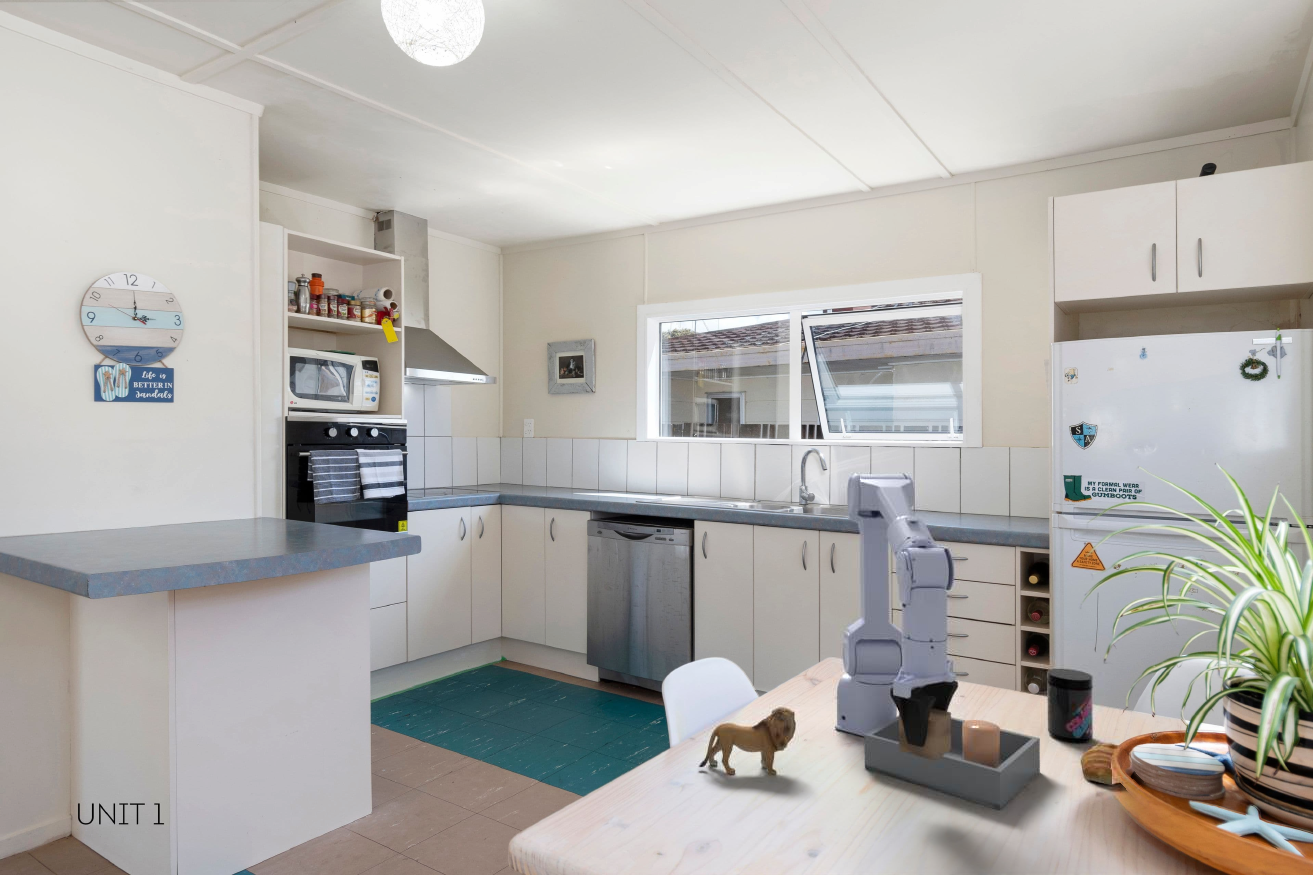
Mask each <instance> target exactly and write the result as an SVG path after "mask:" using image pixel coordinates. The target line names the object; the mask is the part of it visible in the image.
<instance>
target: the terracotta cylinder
mask: <svg viewBox="0 0 1313 875" xmlns="http://www.w3.org/2000/svg"><path fill="white" fill-rule="evenodd" d="M1000 729H1001V728H1000V726H999V725H997V724H995V723H994V722H990V721H987V720H980V719H979V720H978V719H970V720H965V721H964V722H963V723H962V740H963V760H966V761H970V762H974V763H977V764H981V765H985V766H988V767H992V768H997V767H999V766H1000Z"/></svg>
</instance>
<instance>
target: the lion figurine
mask: <svg viewBox="0 0 1313 875" xmlns="http://www.w3.org/2000/svg"><path fill="white" fill-rule="evenodd" d="M795 719H796V718H795V711H793V710H792V709H790V708H787V707H785V706H779V707H777V708H776V707H775V709H772V711H771V713H770V715H767V717H765V718H763V719H762V720H760V721H759V722H758V723H757V724H755V725H753V726H744V725H743V726H742V725H738V724H735V723H732V722H725V723H721V724H719V725H718V726H716V728H714V729H713V732H712V733H711V736H710V737H709V738H710V739H709V742H708V745H707V746H708V747H707V752H706V755H705V758H704V759H703V761H702V762H700V764H699V765H698V767H699V768H704V767H705V766H706V765H707V763H709V765H711V766H717V765H718V764H719V763H718V760H717V759H715V755H717V754H718V753H719V752H721V754H722V756H721V757H722V758H721V764H722V765H723V767H724V769H725V771H726V773H727V774H729V775H735V774H736V769H735V768H734V767H731V766H730V764H729V760H730V757H731V754H732V752H733V747H734V746H735V747H737V748H738V749H739V750H741V751H743V752H747V753H758V752H759V753H760V755H761V756H760V757H761V758H760V764H761V766H762V767H763V768H765V769H766V771H767V773H768V774H769V775H771V776H776V775H777V770H776V769H774V767H773V766H774V761H775V753H777V752H780V751H781V752H783V751H784V750H785V749H786V748H787V747H788V744H789V742H791V740H792V739H793V738H794V735H795V732H796V729H797V728H796V727H797V726H796V725H797V724H796V720H795ZM716 737H717V739H716ZM715 740H716V742H715ZM714 742H715V744H714Z"/></svg>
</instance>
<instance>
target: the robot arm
mask: <svg viewBox="0 0 1313 875" xmlns="http://www.w3.org/2000/svg"><path fill="white" fill-rule="evenodd" d="M846 491H847V492H846V493H847V494H846V495H847V498H846V499H847V503H846V505H847V508H846V510H847V515H848V520H850V521H852V522H854V523H856V524H857V526H858V531H859V551H860V552H859V561H860V562H859V564H860V566H859V567H860V569H859V572H860V573H859V574H860V575H859V576H860V577H859V579H860V618H859V619H857V620H856V621H855V622H853V623H852V624H850V626H848V627H847V628H846V629H845V630H844V631H845V632H844V634H843V635H844V636H843V638H844V639H843V644H842V665H843V669H844V672H845V673H843V674H842V675H841V677H840V678H839V681H838V684H837V688H836V689H837V690H836V724H835V725H834V728H835V729H837V730H840V731H842V732H847V733H850V734H854V735H856V736H860V737H864V738H865V734H867V733H869V732H871V731H872V730H874V729H876V728H878V727H880V726H881V725H883V724H885V723H887V722H889V721H890V720H892V719H894V718H896V717H898V715H899V714H900V717H901V720H902V723H903V727H904V732H905V736H906V739H907V743H908V744H912V745H915V746H919V747H923V746H924V744H925V741H926V736H927V727H928V720H929V715H930V712H931V709H932V708H934V709H938V710H942V711H946V712H949V711H948V710H949V707H950V703H951V701H952V699H953V697H954V695H955V693H956V692H957V690H958V688H959V682H958V681H957V674H956V673H954V660H951V659H948V591H950V590H951V589H952V588H953V585H954V581H955V565H954V564H955V563H954V559H953V555H952V552H951V550H950V549H949V547H948V546H942V545H941V544H936V541H935V540H934V538H933V535H932V534H931V532H930V531H929V529H928V527H927V524H926V523H925V522H924V521H923V520H922V519H921V518H920V517H918V516H917V515H915V516H914V514H913V511H912V508H913V506H914V503H915V496H916V495H915V485H914V480H913V478H912V477H911V476H910V475H909V474H908V473H902V474H901V473H900V474H893V473H892V474H884V473H883V474H882V473H880V474H877V473H876V474H874V473H873V474H872V473H870V474H869V473H868V474H867V473H865V474H862V473H861V474H858V473H857V472H856V473H852V474H851V475H850V477H849V478H848V482H847V488H846ZM889 545H890V548H891V550H892V553H893V555H894V557H895V559H896V561H895V562H896V563H895V570H896V579H897V586H898V599H899V601H900V602H901V605H902V606H901V608H902V609H901V610H902V611H901V612H902V613H901V614H902V615H901V616H902V617H901V621H902V622H901V623H902V624H901V628H902V629H900V628H899V627H898V626H896V625H895V624H894V623H893V622H891V621H890V582H889V579H890V578H889V575H890V574H889V572H890V571H889ZM897 710H898V711H897ZM897 712H898V714H897Z"/></svg>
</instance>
